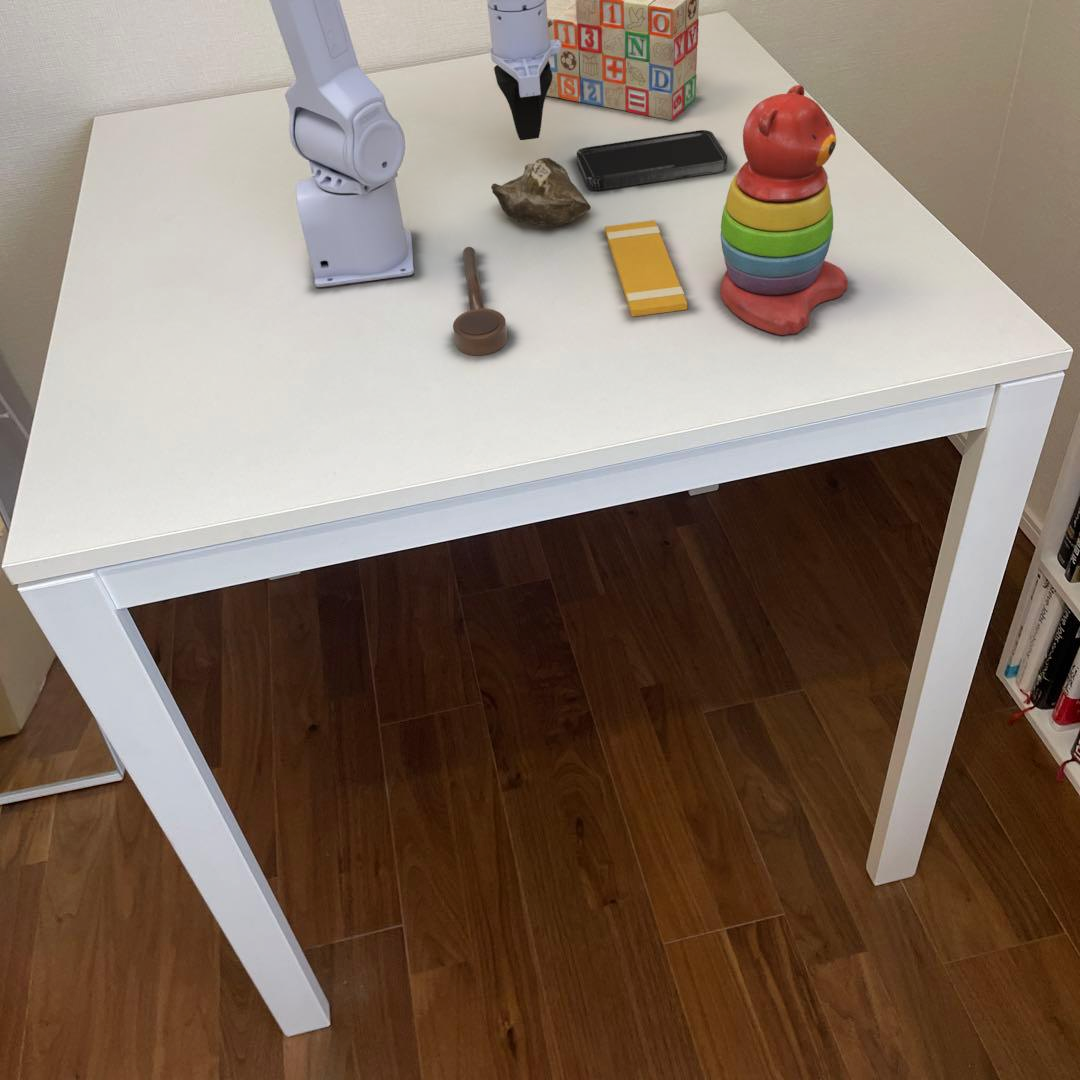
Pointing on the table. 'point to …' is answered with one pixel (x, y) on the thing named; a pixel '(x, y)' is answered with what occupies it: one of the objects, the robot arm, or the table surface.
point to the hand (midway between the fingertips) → (528, 136)
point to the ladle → (478, 317)
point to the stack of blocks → (625, 54)
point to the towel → (645, 269)
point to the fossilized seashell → (542, 195)
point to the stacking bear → (781, 217)
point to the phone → (651, 160)
